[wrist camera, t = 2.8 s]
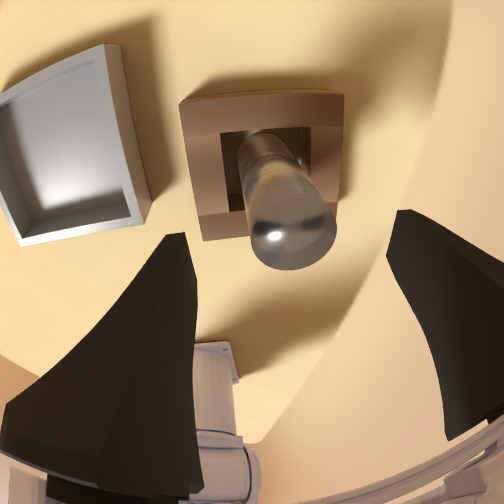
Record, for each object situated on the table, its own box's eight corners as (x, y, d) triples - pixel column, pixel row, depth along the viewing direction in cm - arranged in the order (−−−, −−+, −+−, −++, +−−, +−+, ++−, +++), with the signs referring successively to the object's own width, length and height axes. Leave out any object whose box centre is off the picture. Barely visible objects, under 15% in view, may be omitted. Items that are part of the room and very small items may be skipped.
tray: (152, 202, 17) (144, 224, 15) (35, 226, 16) (20, 247, 14) (120, 45, 11) (103, 43, 9) (-6, 104, 10) (-29, 114, 8)
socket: (325, 210, 18) (335, 226, 17) (204, 223, 18) (203, 241, 17) (329, 89, 13) (344, 94, 12) (183, 99, 13) (178, 104, 12)
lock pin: (288, 178, 17) (332, 264, 11) (239, 183, 17) (253, 274, 10) (287, 131, 15) (340, 194, 9) (234, 135, 15) (247, 203, 9)
